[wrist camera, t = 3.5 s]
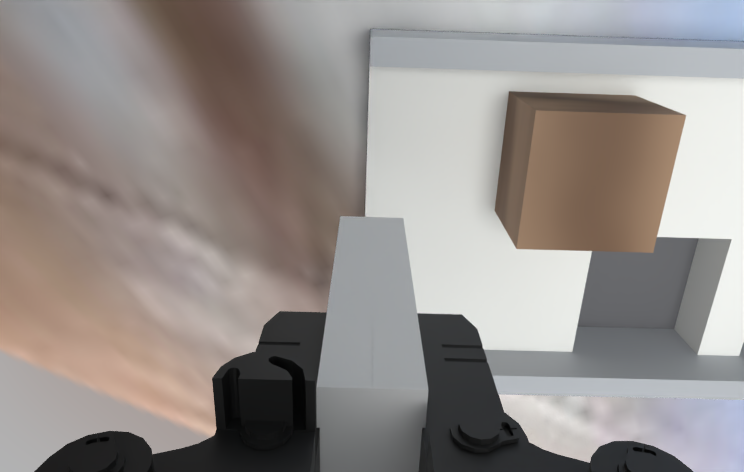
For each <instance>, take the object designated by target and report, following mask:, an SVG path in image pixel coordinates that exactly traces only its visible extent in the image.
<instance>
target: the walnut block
mask: <svg viewBox="0 0 744 472" xmlns="http://www.w3.org/2000/svg"><path fill="white" fill-rule="evenodd" d="M685 118H686V115H684V114H682V113H679V112H677V111H674V110H672V109H669V108H666V107H664V106H661V105H659V104H656V103H654V102H651V101H648V100H646V99H643V98H641V97H638V96H636V95H609V94H578V93H547V92H516V91H509V95H508V103H507V112H506V120H505V128H504V136H503V145H502V153H501V161H500V169H499V178H498V186H497V194H496V203H495V212H496V214H497V216H498V218H499V219H500V221H501V223H502V225H503V226H504V228H505V230H506V232H507V233H508V235H509V237H510V239H511V240H512V242H513V244H514V246H515V247H516V249H533V250H569V251H606V252H642V253H653V251H654V247H655V243H656V239H657V235H658V230H659V226H660V222H661V218H662V214H663V210H664V206H665V201H666V197H667V193H668V189H669V185H670V181H671V177H672V172H673V168H674V164H675V160H676V156H677V152H678V148H679V143H680V139H681V135H682V131H683V127H684V123H685Z"/></svg>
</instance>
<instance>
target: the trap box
mask: <svg viewBox="0 0 744 472" xmlns="http://www.w3.org/2000/svg"><path fill="white" fill-rule="evenodd" d="M509 91H516V92H547V93H578V94H609V95H636V96H638V97H641V98H643V99H646V100H648V101H651V102H654V103H656V104H659V105H661V106H664V107H666V108H669V109H672V110H674V111H677V112H679V113H682V114H684V115H686V118H685V123H684V127H683V131H682V135H681V139H680V143H679V148H678V152H677V156H676V160H675V164H674V168H673V172H672V177H671V181H670V185H669V189H668V193H667V197H666V201H665V206H664V210H663V214H662V218H661V222H660V226H659V230H658V235H657V239H656V243H655V247H654V251H653V253H642V252H606V251H569V250H533V249H516V247H515V246H514V244H513V242H512V240H511V239H510V237H509V235H508V233H507V232H506V230H505V228H504V226H503V225H502V223H501V221H500V219H499V218H498V216H497V214H496V212H495V203H496V194H497V186H498V178H499V169H500V161H501V153H502V145H503V136H504V128H505V120H506V112H507V103H508V95H509ZM365 217H386V218H403V220H404V226H405V233H406V240H407V247H408V254H409V260H410V267H411V274H412V281H413V288H414V294H415V301H416V308H417V313H426V314H462V315H463V316H464V317H465V318H466V319H467V320H468V321H469V322H471V323H472V324H473V325H474V326H475V327H476V328H477V330H478V333H479V336H480V339H481V342H482V345H483V349H484V351H485V354H486V358H487V363H488V364H489V367H490V370H491V373H492V376H493V379H494V382H495V386H496V389H497V392H498V394H511V395H554V396H597V397H640V398H683V399H726V400H744V41H716V40H686V39H657V38H627V37H597V36H567V35H538V34H508V33H478V32H449V31H419V30H389V29H370V62H369V96H368V130H367V164H366V198H365Z"/></svg>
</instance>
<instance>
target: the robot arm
mask: <svg viewBox="0 0 744 472" xmlns="http://www.w3.org/2000/svg"><path fill="white" fill-rule="evenodd" d="M212 381H213V392H214V404H215V415H216V427H217V430H216V433H215V435H214V436H213V437H211V438H209V439H207V440H205V441H203V442H201V443H199V444H195V445H192V446H189V447H185V448H181V449H176V450H172V451H167V452H163V453H157V454H153V455H152V450H151V448H150V447H149V445H148V444H147V443H146V442H145V440H144V439H143V438H141V437H139V436H136V435H134V434H132V433H129V432H118V431H107V432H102V433H97V434H92V435H88V436H85V437H83V438H80V439H78V440H76V441H74V442H71V443H69V444H67V445H65V446H64V447H63V448H61V449H60V450H59V451H57V452H56V453H55V454H53V455H52V456H50V457H49V458H48V459H47V460H46V461H45V462H44V463H43V464H42V465H41V466H40V467H39V468H38V469H37V470H36V471H35V472H693V471H692V470H691V469H690V468H688V467H687V466H686V465H685V464H683V463H682V462H681V461H680V460H678V459H677V458H676V457H674V456H673V455H671V454H668V453H666V452H664V451H662V450H660V449H658V448H656V447H654V446H650V445H646V444H642V443H638V442H634V441H613V442H611V443H608V444H605V445H603V446H600V447H599V448H598V449H597V451H596V452H595V453H594V454H593V456H592V457H591V461H590V463H588V462H584V461H580V460H576V459H573V458H569V457H565V456H561V455H557V454H555V453H552V452H549V451H546V450H543V449H541V448H539V447H537V446H535V445H533V444H531V443H529V441H528V438H527V436H526V434H525V433H524V431H523V430H522V428H521V426H520V425H519V423H517V422H516V421H515V420H513V419H512V418H511V417H510V416H508V415H507V414H506V413H504V410H503V407H502V404H501V401H500V398H499V395H498V392H497V389H496V386H495V382H494V379H493V376H492V373H491V370H490V367H489V364H488V363H487V358H486V354H485V351H484V349H483V345H482V342H481V339H480V336H479V333H478V330H477V328H476V327H475V326H474V325H473V324H472V323H471V322H469V321H468V320H467V319H466V318H465V317H464V316H463V315H462V314H426V313H417V308H416V301H415V294H414V288H413V281H412V274H411V267H410V260H409V254H408V247H407V240H406V233H405V226H404V220H403V218H386V217H352V216H340V223H339V230H338V237H337V244H336V251H335V258H334V265H333V272H332V280H331V287H330V294H329V301H328V308H327V313H320V312H283V311H280V312H278V313H277V314H276V315H275V316H274V317H273V318H272V319H271V320H269V321H268V322H267V323H266V324H265V325H264V328H263V331H262V334H261V337H260V340H259V345H258V346H257V349H256V352H252V353H249V354H246V355H243V356H239V357H236V358H234V359H232V360H231V361H229V362H228V363H226V364H225V365H223V366H221V367H220V369H219V370H218V371H217V373H216V374H215V375H214V377H213V378H212Z"/></svg>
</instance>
